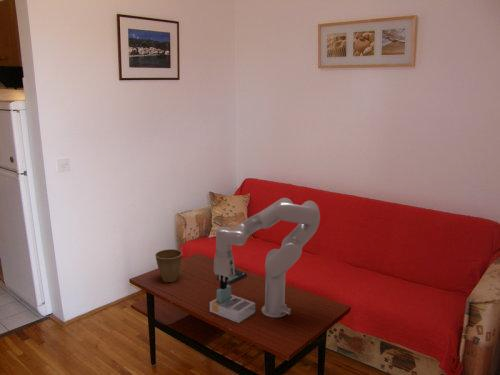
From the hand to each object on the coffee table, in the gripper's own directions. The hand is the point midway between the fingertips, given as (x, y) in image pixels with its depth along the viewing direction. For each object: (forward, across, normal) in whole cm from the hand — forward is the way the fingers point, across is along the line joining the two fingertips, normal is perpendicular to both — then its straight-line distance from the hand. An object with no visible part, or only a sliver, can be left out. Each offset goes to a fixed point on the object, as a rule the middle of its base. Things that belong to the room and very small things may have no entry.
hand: (223, 287), depth 212 cm
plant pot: (+11, +46, -7) cm, 48 cm away
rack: (+11, -6, 0) cm, 12 cm away
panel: (+10, 0, 0) cm, 10 cm away
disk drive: (+12, +20, -32) cm, 39 cm away
